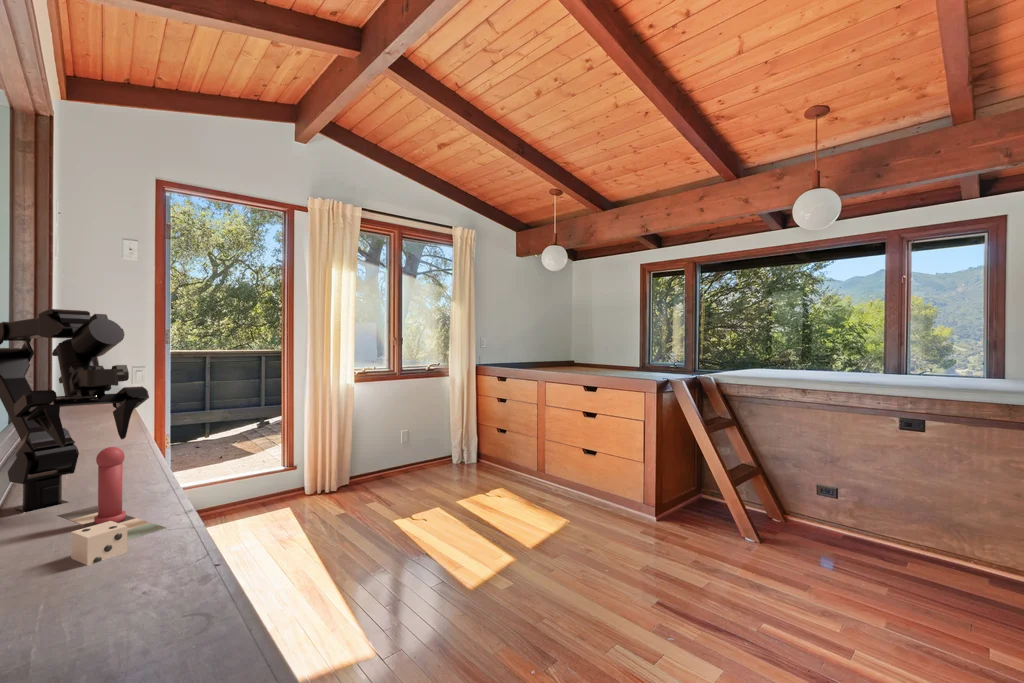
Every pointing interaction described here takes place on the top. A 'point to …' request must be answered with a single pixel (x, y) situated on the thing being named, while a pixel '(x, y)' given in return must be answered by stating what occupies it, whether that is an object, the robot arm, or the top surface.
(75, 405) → the robot arm
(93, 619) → the top surface
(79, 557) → the die
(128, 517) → the board
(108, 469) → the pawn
